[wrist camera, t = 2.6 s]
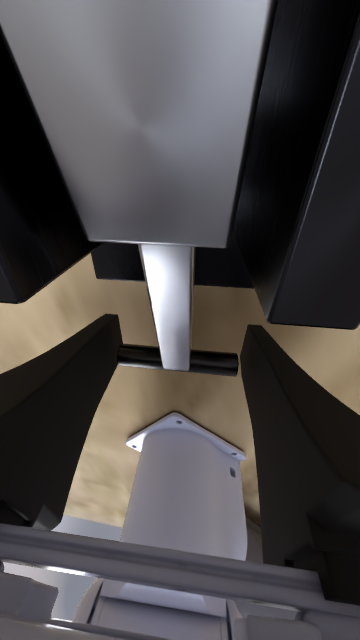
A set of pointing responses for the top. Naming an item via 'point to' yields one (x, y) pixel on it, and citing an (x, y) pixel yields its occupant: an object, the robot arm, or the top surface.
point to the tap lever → (148, 134)
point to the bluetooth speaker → (256, 556)
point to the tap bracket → (256, 192)
